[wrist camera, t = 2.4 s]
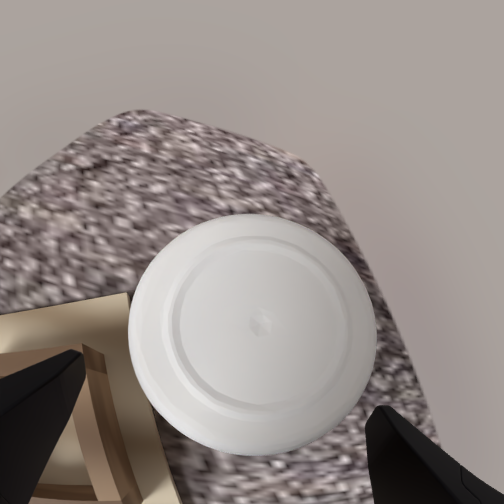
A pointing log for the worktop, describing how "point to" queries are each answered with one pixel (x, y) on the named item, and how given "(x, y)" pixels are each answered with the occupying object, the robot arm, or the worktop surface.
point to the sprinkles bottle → (252, 334)
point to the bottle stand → (93, 406)
